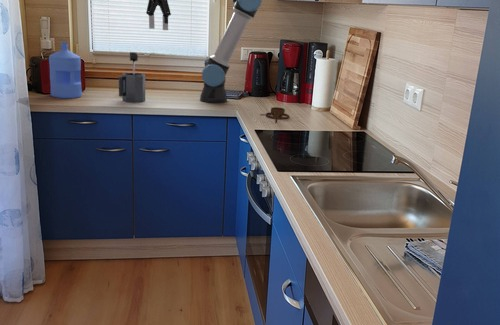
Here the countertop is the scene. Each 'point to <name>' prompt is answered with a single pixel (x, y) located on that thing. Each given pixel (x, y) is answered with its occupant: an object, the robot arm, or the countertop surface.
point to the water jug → (65, 73)
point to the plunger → (133, 58)
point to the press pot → (132, 87)
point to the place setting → (277, 113)
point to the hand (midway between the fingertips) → (158, 29)
